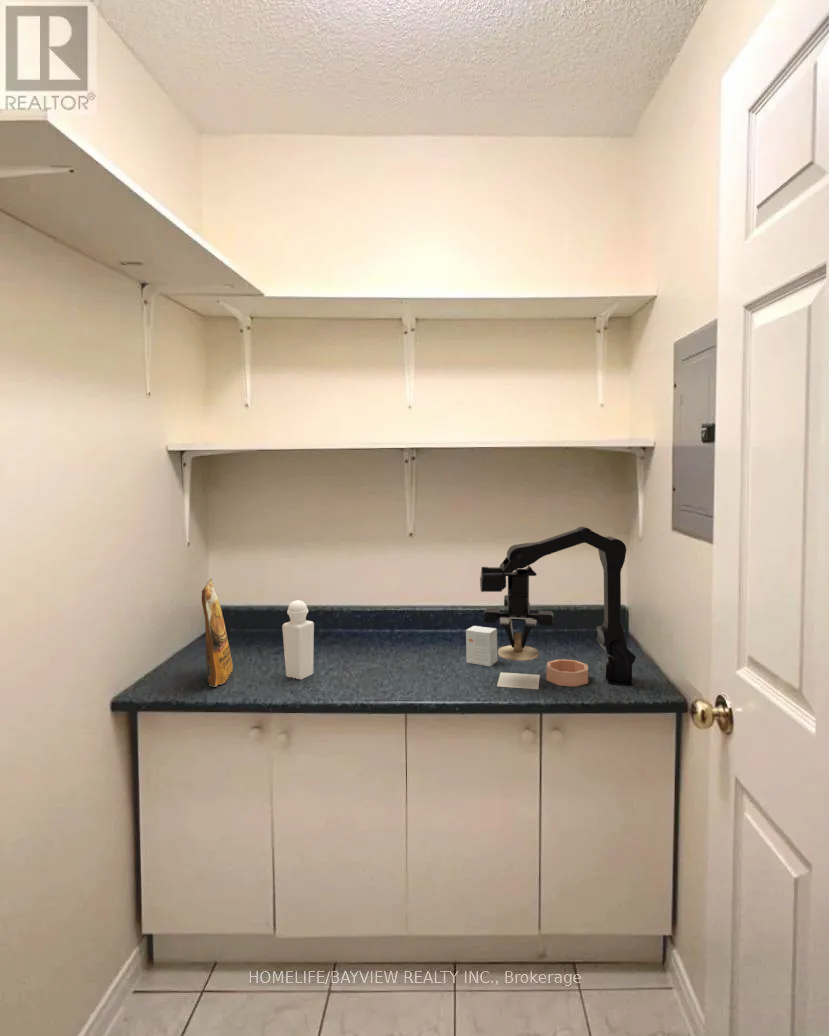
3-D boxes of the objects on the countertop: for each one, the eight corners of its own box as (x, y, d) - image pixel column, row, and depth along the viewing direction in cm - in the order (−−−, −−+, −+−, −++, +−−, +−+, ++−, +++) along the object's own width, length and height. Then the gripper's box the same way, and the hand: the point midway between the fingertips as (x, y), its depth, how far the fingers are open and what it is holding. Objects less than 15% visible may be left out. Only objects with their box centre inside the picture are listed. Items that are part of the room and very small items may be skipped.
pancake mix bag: (197, 691, 166) (192, 589, 163) (214, 668, 184) (209, 576, 182) (222, 690, 166) (218, 588, 164) (236, 667, 185) (233, 575, 182)
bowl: (586, 674, 174) (587, 660, 174) (588, 688, 164) (588, 674, 163) (547, 672, 177) (547, 658, 176) (546, 685, 166) (546, 671, 166)
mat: (539, 676, 173) (539, 674, 173) (538, 690, 163) (538, 689, 163) (500, 673, 176) (500, 672, 176) (496, 687, 165) (496, 686, 165)
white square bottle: (300, 680, 172) (298, 604, 170) (283, 676, 176) (280, 601, 174) (315, 673, 178) (313, 599, 176) (298, 670, 181) (296, 597, 179)
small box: (497, 662, 186) (497, 628, 185) (490, 667, 181) (490, 632, 180) (473, 658, 190) (473, 625, 189) (465, 663, 185) (465, 629, 184)
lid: (539, 649, 173) (539, 629, 172) (537, 661, 162) (537, 640, 161) (499, 646, 175) (499, 627, 175) (495, 659, 165) (495, 637, 164)
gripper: (553, 586, 173) (553, 641, 174) (487, 584, 177) (487, 637, 178) (553, 595, 162) (552, 653, 163) (482, 592, 166) (482, 648, 168)
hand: (518, 647), depth 168 cm, fingers closed on lid, 2 cm apart
